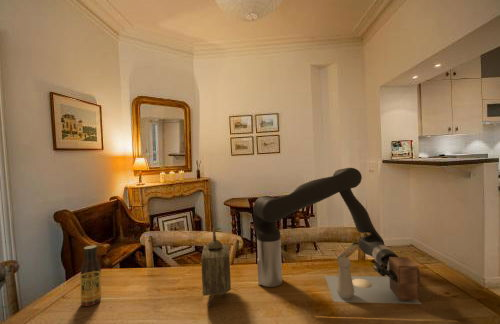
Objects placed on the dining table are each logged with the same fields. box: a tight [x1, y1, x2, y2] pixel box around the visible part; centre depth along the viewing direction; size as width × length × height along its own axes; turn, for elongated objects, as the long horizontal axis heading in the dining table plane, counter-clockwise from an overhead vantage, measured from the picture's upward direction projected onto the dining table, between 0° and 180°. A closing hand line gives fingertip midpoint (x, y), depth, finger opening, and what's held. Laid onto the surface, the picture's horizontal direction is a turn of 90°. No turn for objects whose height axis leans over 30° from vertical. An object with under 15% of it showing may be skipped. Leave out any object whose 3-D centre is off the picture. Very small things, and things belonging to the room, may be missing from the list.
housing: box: [389, 256, 420, 301], centre depth 85 cm, size 6×7×11 cm
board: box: [324, 275, 422, 305], centre depth 91 cm, size 27×18×1 cm, turn 83°
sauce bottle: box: [79, 244, 102, 307], centre depth 90 cm, size 7×6×20 cm
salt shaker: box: [336, 256, 354, 300], centre depth 87 cm, size 6×6×13 cm
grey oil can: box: [201, 226, 232, 308], centre depth 90 cm, size 14×9×25 cm, turn 5°
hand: (406, 279), depth 82 cm, fingers closed on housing, 6 cm apart
